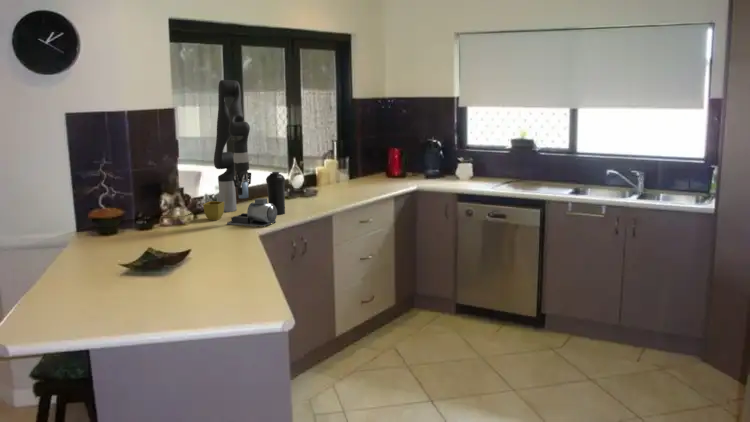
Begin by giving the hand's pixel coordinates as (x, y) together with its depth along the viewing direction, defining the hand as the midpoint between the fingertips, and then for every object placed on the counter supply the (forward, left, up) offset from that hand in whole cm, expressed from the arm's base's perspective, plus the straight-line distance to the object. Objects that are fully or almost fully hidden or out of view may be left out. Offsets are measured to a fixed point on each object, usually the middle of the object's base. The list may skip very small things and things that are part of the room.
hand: (243, 193), depth 362 cm
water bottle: (+4, +26, -16) cm, 31 cm away
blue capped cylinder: (0, 0, -2) cm, 2 cm away
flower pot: (-21, +3, -16) cm, 26 cm away
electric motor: (+5, 0, -15) cm, 16 cm away
